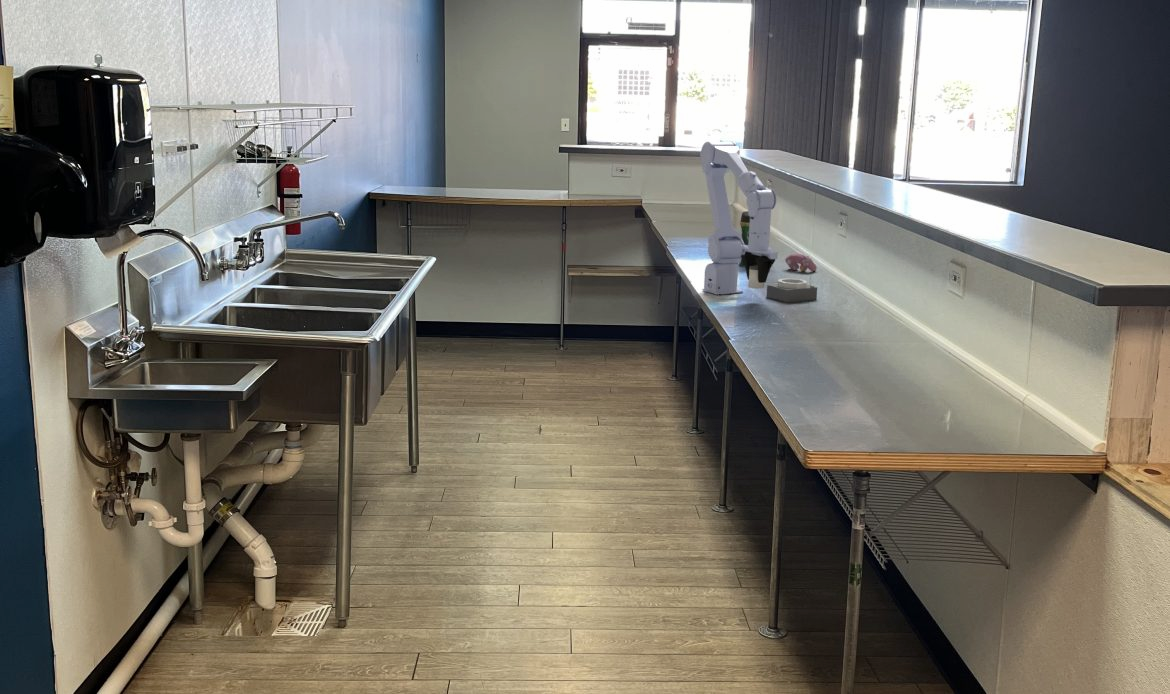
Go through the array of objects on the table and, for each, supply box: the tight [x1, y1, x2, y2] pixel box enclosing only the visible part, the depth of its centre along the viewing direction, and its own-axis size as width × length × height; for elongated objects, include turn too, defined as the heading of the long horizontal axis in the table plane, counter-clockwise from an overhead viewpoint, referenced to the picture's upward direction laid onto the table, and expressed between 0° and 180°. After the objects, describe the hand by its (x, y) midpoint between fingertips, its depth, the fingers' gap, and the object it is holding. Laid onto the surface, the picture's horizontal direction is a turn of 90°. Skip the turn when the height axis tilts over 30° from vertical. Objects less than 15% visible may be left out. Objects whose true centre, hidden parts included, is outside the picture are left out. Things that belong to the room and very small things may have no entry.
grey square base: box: [766, 278, 818, 303], centre depth 298 cm, size 11×9×5 cm
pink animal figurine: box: [784, 253, 818, 272], centre depth 345 cm, size 10×5×7 cm, turn 45°
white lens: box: [747, 265, 765, 290], centre depth 291 cm, size 4×4×6 cm
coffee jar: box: [738, 210, 761, 267], centre depth 353 cm, size 10×8×19 cm
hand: (756, 280), depth 291 cm, fingers closed on white lens, 4 cm apart
